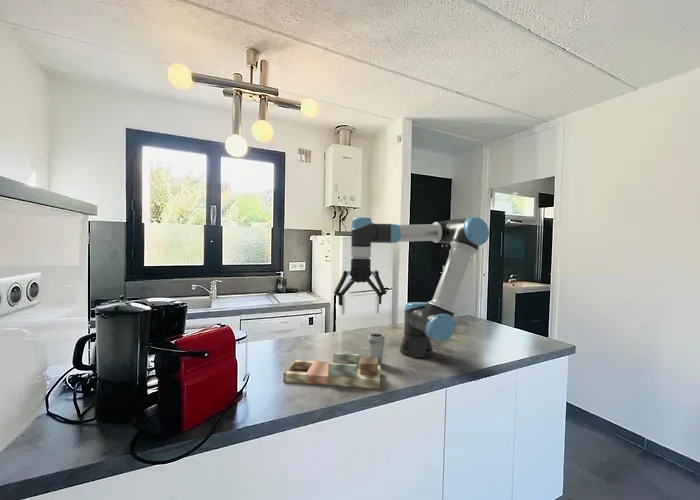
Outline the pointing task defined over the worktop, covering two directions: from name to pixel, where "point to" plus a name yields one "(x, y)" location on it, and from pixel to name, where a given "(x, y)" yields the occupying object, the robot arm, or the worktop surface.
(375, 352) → the cup
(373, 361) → the block
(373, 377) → the compartment tray
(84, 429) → the worktop surface
